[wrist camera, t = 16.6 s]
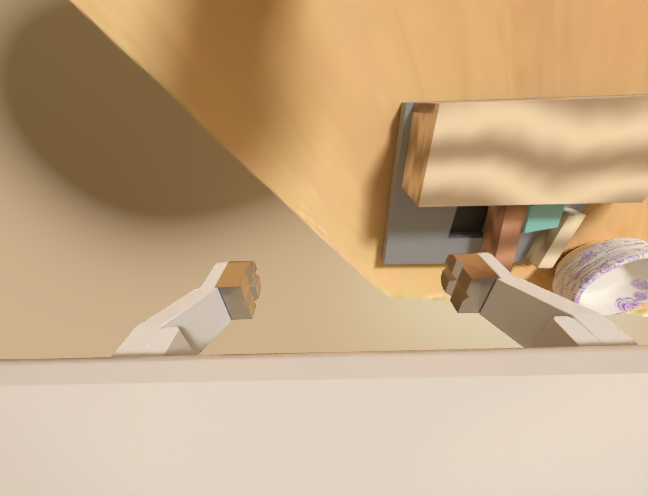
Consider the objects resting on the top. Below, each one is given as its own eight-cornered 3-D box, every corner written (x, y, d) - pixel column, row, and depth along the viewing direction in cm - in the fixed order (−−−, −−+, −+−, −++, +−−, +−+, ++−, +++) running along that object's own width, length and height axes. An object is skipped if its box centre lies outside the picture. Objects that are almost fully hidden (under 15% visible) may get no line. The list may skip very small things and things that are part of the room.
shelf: (414, 102, 30) (439, 103, 23) (632, 95, 29) (724, 94, 22) (401, 186, 36) (418, 207, 29) (581, 182, 35) (642, 202, 28)
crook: (492, 186, 35) (509, 195, 32) (549, 174, 34) (573, 183, 31) (477, 267, 44) (490, 280, 40) (523, 259, 43) (540, 273, 39)
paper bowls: (594, 291, 50) (635, 321, 43) (525, 288, 50) (555, 317, 43) (651, 229, 42) (712, 254, 35) (568, 226, 42) (613, 250, 35)
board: (401, 102, 32) (406, 103, 30) (634, 94, 31) (657, 94, 29) (381, 256, 46) (384, 264, 44) (541, 254, 45) (551, 262, 43)
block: (510, 194, 36) (531, 205, 32) (542, 188, 35) (567, 198, 32) (504, 219, 38) (524, 233, 35) (534, 214, 38) (557, 227, 34)
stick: (552, 207, 37) (569, 215, 35) (568, 207, 37) (586, 215, 34) (525, 258, 42) (537, 268, 40) (539, 257, 42) (552, 267, 40)
